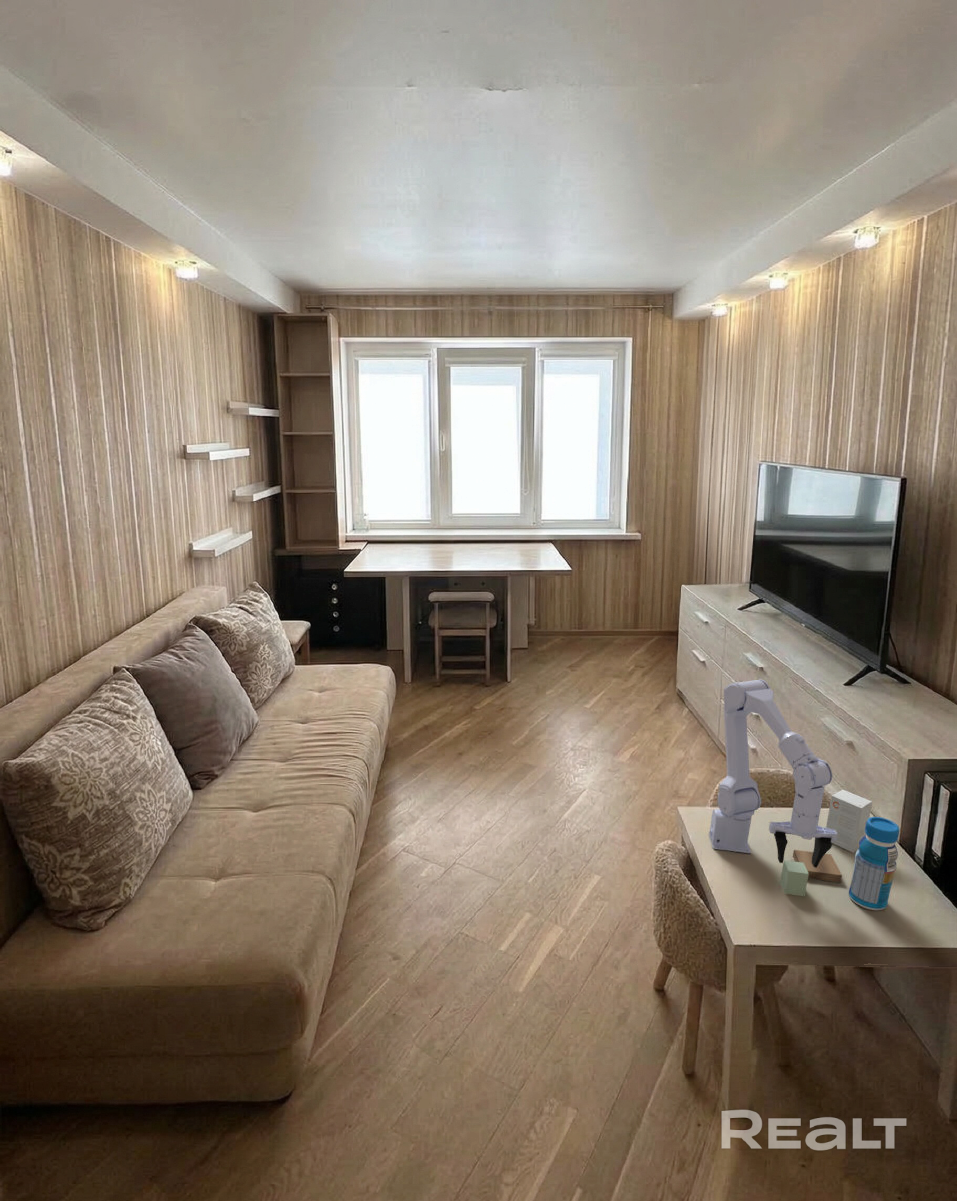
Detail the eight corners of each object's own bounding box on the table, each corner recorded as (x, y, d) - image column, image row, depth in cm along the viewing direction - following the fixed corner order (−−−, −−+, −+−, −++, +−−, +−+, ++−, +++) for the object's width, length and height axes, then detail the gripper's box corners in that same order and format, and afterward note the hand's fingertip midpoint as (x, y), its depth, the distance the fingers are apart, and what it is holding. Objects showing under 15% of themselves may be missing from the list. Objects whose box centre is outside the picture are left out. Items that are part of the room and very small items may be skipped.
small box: (864, 845, 200) (873, 801, 197) (853, 853, 196) (862, 808, 193) (834, 832, 206) (842, 788, 203) (822, 839, 202) (831, 795, 199)
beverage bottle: (852, 908, 174) (868, 830, 169) (843, 886, 182) (858, 811, 177) (892, 915, 172) (909, 836, 167) (881, 893, 180) (898, 817, 175)
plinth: (801, 877, 185) (803, 870, 184) (792, 856, 193) (793, 849, 193) (840, 882, 184) (841, 875, 183) (829, 861, 192) (830, 854, 192)
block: (784, 893, 178) (788, 871, 177) (780, 882, 183) (783, 860, 181) (804, 896, 178) (808, 873, 176) (799, 884, 182) (803, 862, 180)
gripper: (777, 815, 172) (768, 868, 175) (844, 823, 170) (834, 877, 173) (770, 800, 179) (762, 851, 182) (835, 808, 177) (825, 859, 180)
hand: (797, 862), depth 178 cm, fingers open, 7 cm apart
